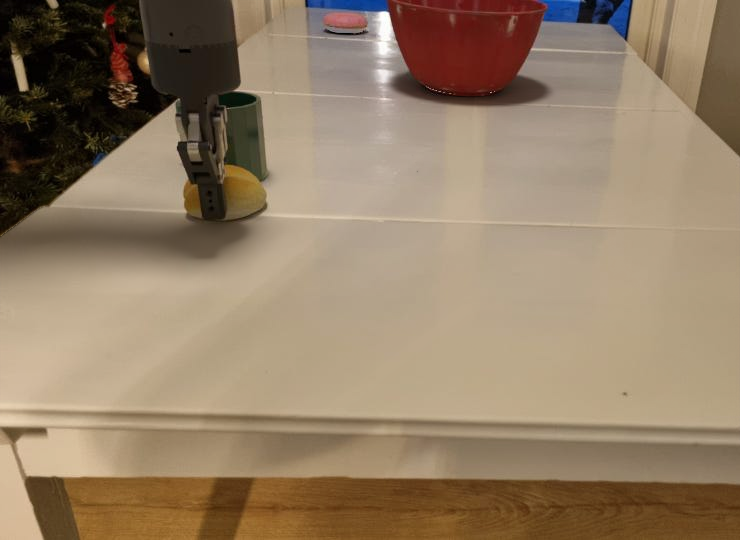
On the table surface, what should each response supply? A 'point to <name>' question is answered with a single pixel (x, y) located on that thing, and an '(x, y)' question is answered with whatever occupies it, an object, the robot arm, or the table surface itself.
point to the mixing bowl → (465, 41)
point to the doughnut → (345, 20)
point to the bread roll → (231, 194)
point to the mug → (243, 132)
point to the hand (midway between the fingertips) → (215, 217)
